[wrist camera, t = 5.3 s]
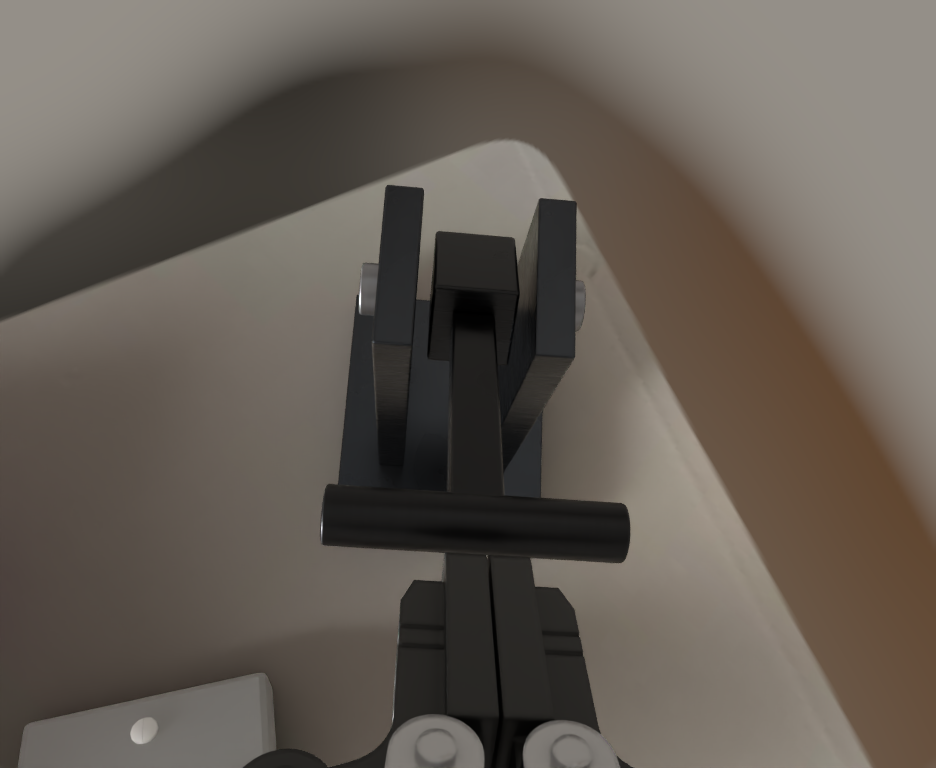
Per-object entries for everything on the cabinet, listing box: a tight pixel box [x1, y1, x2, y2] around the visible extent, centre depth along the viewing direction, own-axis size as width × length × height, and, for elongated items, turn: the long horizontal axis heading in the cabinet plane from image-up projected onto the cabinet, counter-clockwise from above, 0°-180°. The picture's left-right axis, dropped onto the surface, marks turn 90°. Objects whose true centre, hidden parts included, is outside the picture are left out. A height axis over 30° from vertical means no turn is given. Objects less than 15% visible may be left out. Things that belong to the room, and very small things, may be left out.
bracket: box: [338, 185, 586, 498], centre depth 28 cm, size 10×8×15 cm
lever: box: [320, 231, 630, 563], centre depth 20 cm, size 10×6×2 cm
